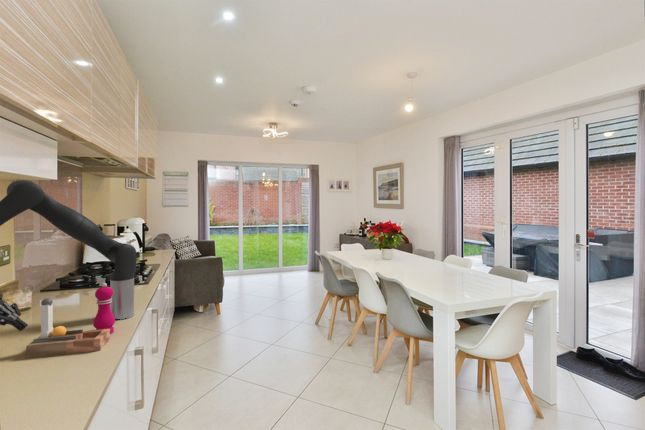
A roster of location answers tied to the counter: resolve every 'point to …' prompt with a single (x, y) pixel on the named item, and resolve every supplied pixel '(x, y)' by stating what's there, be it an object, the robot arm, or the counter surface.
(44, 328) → the launcher plunger
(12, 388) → the counter surface
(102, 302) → the pepper mill
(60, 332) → the ball
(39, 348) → the launcher track
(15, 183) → the robot arm
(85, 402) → the counter surface
